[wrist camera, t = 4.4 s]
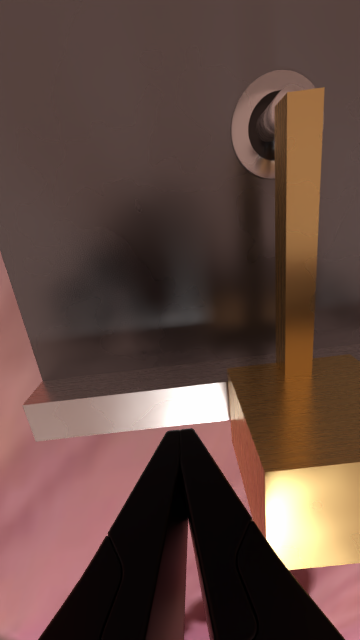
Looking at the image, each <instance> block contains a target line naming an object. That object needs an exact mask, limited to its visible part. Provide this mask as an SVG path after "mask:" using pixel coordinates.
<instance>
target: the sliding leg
mask: <svg viewBox="0 0 360 640" xmlns="http://www.w3.org/2000/svg"><path fill="white" fill-rule="evenodd" d="M324 89H325V87H323V88H315V89H308V90H303V88H301V87H300V86H298V85H288V86H286V87H284V88H283V89H282V90H281V91H280V92H279V93H278V94H277V96H276V97H275V98H274V99H273V101H272V102H271V103H270V104H269V106H268V107H267V108H266V109H265V111H264V112H263V113H262V114H261V116H260V117H259V118H258V121H257V124H256V132H257V135H258V137H259V138H260V139H261V140H263V141H265V142H272V141H274V140H275V303H276V363H269V364H261V365H252V366H244V367H235V368H227V377H228V391H229V405H230V419H231V433H232V443H233V446H234V450H235V454H236V458H237V461H238V465H239V469H240V473H241V476H242V480H243V484H244V488H245V491H246V495H247V499H248V503H249V506H250V510H251V514H252V518H253V521H254V522H255V523H256V525H257V526H258V528H259V529H260V531H261V532H262V534H263V535H264V537H265V538H266V540H267V541H268V543H269V544H270V545H271V547H272V548H273V550H274V551H275V553H276V554H277V555H278V557H279V558H280V559H281V561H282V562H283V563H284V565H285V566H286V567H287V568H288V570H295V569H304V568H314V567H324V566H334V565H344V564H354V563H360V361H358V360H357V359H356V358H354V357H353V356H352V355H350V354H347V355H338V356H330V357H321V358H313V337H314V315H315V292H316V270H317V247H318V224H319V202H320V179H321V157H322V134H323V111H324Z"/></svg>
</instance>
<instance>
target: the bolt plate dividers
mask: <svg viewBox="0 0 360 640" xmlns="http://www.w3.org/2000/svg"><path fill="white" fill-rule="evenodd" d="M288 85H298V86H300V87H301V88H303V90H308V89H315V88H323V87H325V89H324V111H323V134H322V157H321V179H320V202H319V224H318V247H317V270H316V292H315V315H314V337H313V358H321V357H330V356H338V355H347V354H350V355H352V356H353V357H354V358H356V359H357V360H358V361H360V0H0V251H1V254H2V257H3V260H4V263H5V267H6V270H7V273H8V276H9V279H10V282H11V285H12V288H13V291H14V294H15V297H16V300H17V303H18V306H19V309H20V312H21V315H22V319H23V322H24V325H25V328H26V331H27V334H28V337H29V340H30V343H31V346H32V349H33V352H34V355H35V358H36V361H37V364H38V367H39V371H40V374H41V377H42V380H43V381H42V382H41V384H40V385H39V386H38V387H37V389H36V390H35V391H34V392H33V393H32V395H31V396H30V397H29V398H28V399H27V401H26V402H25V403H24V404H23V408H24V411H25V414H26V416H27V419H28V422H29V424H30V427H31V430H32V433H33V435H34V438H35V441H45V440H53V439H62V438H71V437H80V436H89V435H98V434H107V433H116V432H125V431H134V430H143V429H152V428H160V427H169V426H178V425H187V424H196V423H205V422H214V421H223V420H231V419H230V405H229V391H228V377H227V368H235V367H244V366H252V365H261V364H269V363H276V303H275V140H274V141H272V142H265V141H263V140H261V139H260V138H259V137H258V135H257V132H256V124H257V121H258V118H259V117H260V116H261V114H262V113H263V112H264V111H265V109H266V108H267V107H268V106H269V104H270V103H271V102H272V101H273V99H274V98H275V97H276V96H277V94H278V93H279V92H280V91H281V90H282V89H283V88H284V87H286V86H288Z"/></svg>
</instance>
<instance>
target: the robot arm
mask: <svg viewBox="0 0 360 640" xmlns="http://www.w3.org/2000/svg"><path fill="white" fill-rule="evenodd" d="M188 520H189V525H190V531H191V537H192V542H193V548H194V553H195V559H196V565H197V570H198V576H199V581H200V587H201V592H202V598H203V604H204V609H205V615H206V620H207V626H208V632H209V637H210V640H345V639H344V638H343V636H342V635H341V634H340V633H339V631H338V630H337V629H336V628H335V627H334V625H333V624H332V623H331V622H330V620H329V619H328V618H327V617H326V616H325V614H324V613H323V612H322V611H321V609H320V608H319V607H318V606H317V605H316V603H315V602H314V601H313V600H312V598H311V597H310V596H309V595H308V594H307V592H306V591H305V590H304V589H303V587H302V586H301V585H300V584H299V583H298V581H297V580H296V579H295V577H294V576H293V575H292V574H291V572H290V571H289V570H288V568H287V567H286V566H285V565H284V563H283V562H282V561H281V559H280V558H279V557H278V555H277V554H276V553H275V551H274V550H273V548H272V547H271V545H270V544H269V543H268V541H267V540H266V538H265V537H264V535H263V534H262V532H261V531H260V529H259V528H258V526H257V525H256V523H255V522H254V521H252V517H251V516H250V514H249V513H248V511H247V510H246V508H245V507H244V505H243V504H242V502H241V501H240V499H239V498H238V496H237V495H236V493H235V491H234V490H233V488H232V487H231V485H230V484H229V482H228V481H227V479H226V478H225V476H224V475H223V473H222V472H221V470H220V469H219V467H218V466H217V464H216V462H215V461H214V459H213V458H212V456H211V455H210V453H209V452H208V450H207V449H206V447H205V446H204V444H203V443H202V441H201V440H200V438H199V437H198V435H197V434H196V432H195V430H194V429H192V428H190V429H182V430H172V431H167V432H166V434H165V436H164V437H163V439H162V441H161V442H160V444H159V446H158V448H157V449H156V451H155V453H154V454H153V456H152V458H151V460H150V461H149V463H148V465H147V467H146V468H145V470H144V472H143V473H142V475H141V477H140V479H139V480H138V482H137V484H136V485H135V487H134V489H133V491H132V492H131V494H130V496H129V498H128V499H127V501H126V503H125V504H124V506H123V508H122V510H121V511H120V513H119V515H118V516H117V518H116V520H115V522H114V523H113V525H112V527H111V529H110V530H109V532H108V536H106V537H105V538H104V540H103V542H102V544H101V545H100V547H99V549H98V551H97V552H96V554H95V556H94V557H93V559H92V561H91V562H90V564H89V565H88V567H87V569H86V570H85V572H84V574H83V575H82V577H81V578H80V580H79V581H78V583H77V584H76V586H75V587H74V589H73V590H72V592H71V593H70V595H69V596H68V597H67V599H66V600H65V602H64V603H63V605H62V606H61V608H60V609H59V611H58V612H57V613H56V615H55V616H54V618H53V619H52V621H51V622H50V623H49V625H48V626H47V628H46V629H45V631H44V632H43V633H42V635H41V636H40V638H39V639H38V640H184V616H185V590H186V564H187V538H188Z"/></svg>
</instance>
